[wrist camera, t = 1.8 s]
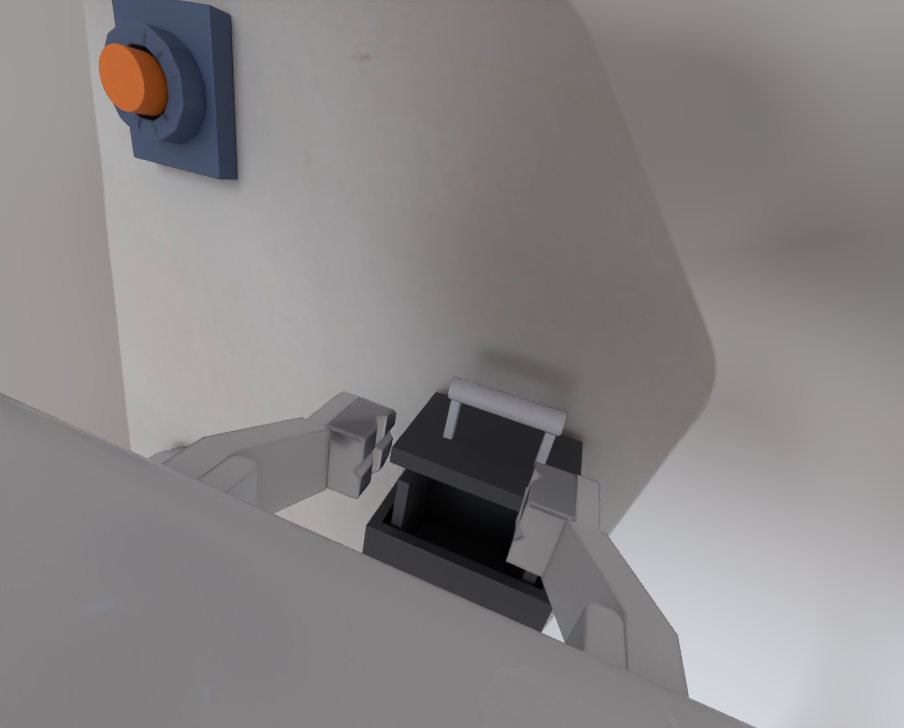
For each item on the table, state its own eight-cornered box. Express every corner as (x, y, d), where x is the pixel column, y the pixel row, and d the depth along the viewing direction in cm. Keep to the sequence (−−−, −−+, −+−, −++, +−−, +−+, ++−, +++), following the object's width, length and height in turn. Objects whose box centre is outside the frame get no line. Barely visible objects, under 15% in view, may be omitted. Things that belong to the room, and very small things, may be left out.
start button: (122, 47, 27) (93, 38, 25) (166, 55, 26) (138, 47, 24) (130, 111, 28) (104, 106, 27) (172, 120, 28) (147, 116, 26)
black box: (420, 445, 35) (365, 525, 27) (565, 499, 33) (554, 606, 24) (399, 552, 41) (349, 644, 33) (520, 604, 39) (499, 719, 30)
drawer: (446, 341, 30) (401, 386, 23) (604, 390, 28) (606, 457, 21) (412, 508, 37) (370, 579, 30) (534, 558, 35) (519, 647, 28)
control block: (135, -1, 28) (79, -24, 25) (230, 14, 27) (183, -8, 24) (154, 158, 33) (109, 155, 30) (237, 179, 31) (198, 178, 28)
